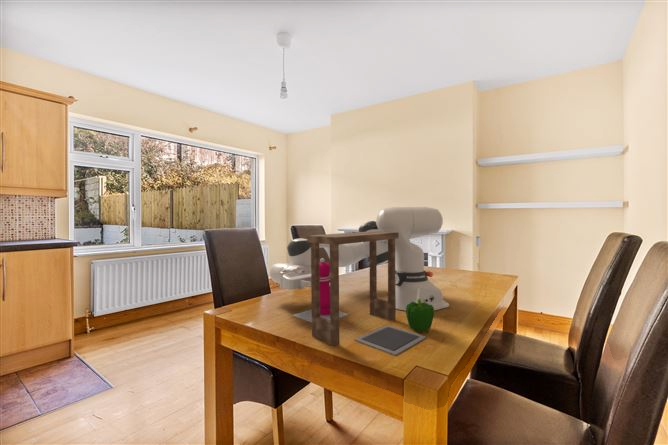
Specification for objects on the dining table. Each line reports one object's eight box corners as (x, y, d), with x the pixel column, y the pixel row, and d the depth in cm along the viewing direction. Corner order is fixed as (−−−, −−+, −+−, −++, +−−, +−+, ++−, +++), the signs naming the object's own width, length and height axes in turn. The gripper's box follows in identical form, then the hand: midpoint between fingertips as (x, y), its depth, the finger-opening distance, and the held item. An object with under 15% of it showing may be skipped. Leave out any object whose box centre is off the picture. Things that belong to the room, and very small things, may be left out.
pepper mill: (333, 316, 107) (329, 260, 105) (313, 315, 109) (309, 260, 107) (337, 308, 114) (334, 255, 113) (318, 308, 116) (315, 256, 114)
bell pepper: (413, 323, 101) (412, 293, 101) (437, 328, 96) (437, 297, 96) (401, 330, 95) (401, 298, 95) (426, 337, 90) (426, 303, 89)
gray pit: (354, 340, 88) (354, 338, 88) (386, 325, 99) (386, 324, 99) (395, 355, 78) (395, 354, 78) (426, 337, 89) (426, 336, 89)
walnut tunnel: (308, 335, 91) (307, 235, 90) (371, 312, 112) (370, 231, 112) (336, 347, 83) (336, 237, 82) (398, 320, 104) (398, 232, 103)
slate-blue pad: (293, 315, 110) (293, 314, 110) (322, 307, 119) (322, 306, 119) (319, 325, 100) (319, 324, 100) (348, 315, 109) (348, 314, 109)
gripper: (318, 280, 126) (342, 286, 116) (276, 289, 111) (299, 296, 102) (318, 265, 126) (342, 269, 116) (276, 272, 111) (299, 277, 101)
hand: (322, 282), depth 109 cm, fingers open, 8 cm apart
